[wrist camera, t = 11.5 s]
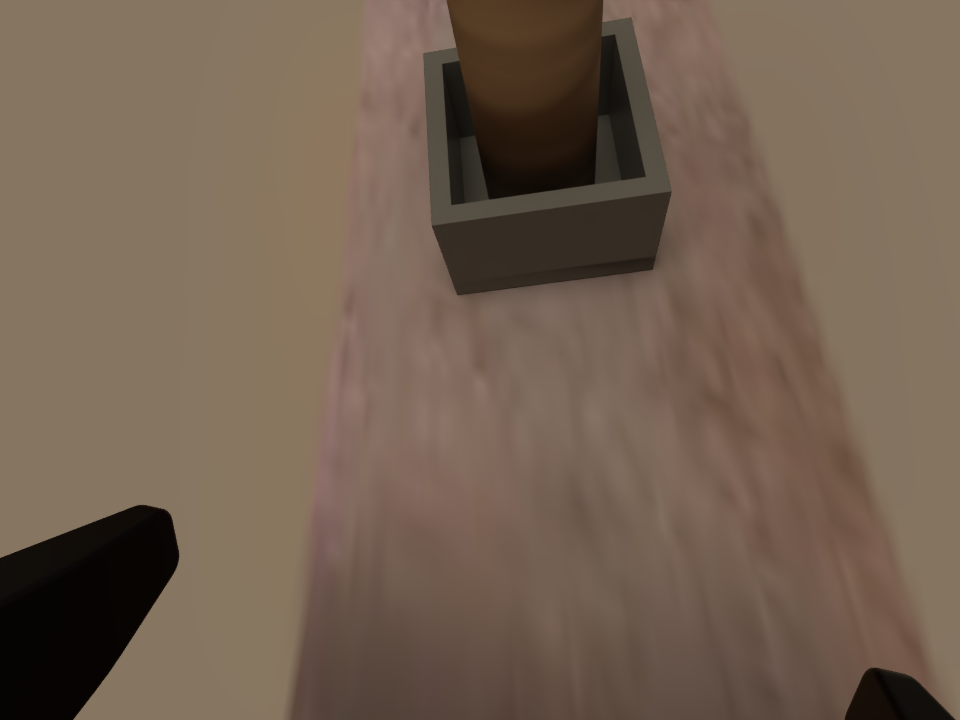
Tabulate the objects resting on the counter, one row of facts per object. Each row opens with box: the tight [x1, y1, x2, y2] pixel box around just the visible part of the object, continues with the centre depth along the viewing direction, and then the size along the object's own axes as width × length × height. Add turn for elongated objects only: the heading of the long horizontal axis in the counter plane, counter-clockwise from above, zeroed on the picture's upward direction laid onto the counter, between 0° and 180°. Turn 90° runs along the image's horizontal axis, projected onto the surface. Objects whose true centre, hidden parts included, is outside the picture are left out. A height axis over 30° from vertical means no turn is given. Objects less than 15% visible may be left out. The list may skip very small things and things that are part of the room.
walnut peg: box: [447, 0, 603, 200], centre depth 19 cm, size 4×4×13 cm
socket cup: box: [423, 18, 672, 295], centre depth 24 cm, size 8×8×5 cm
